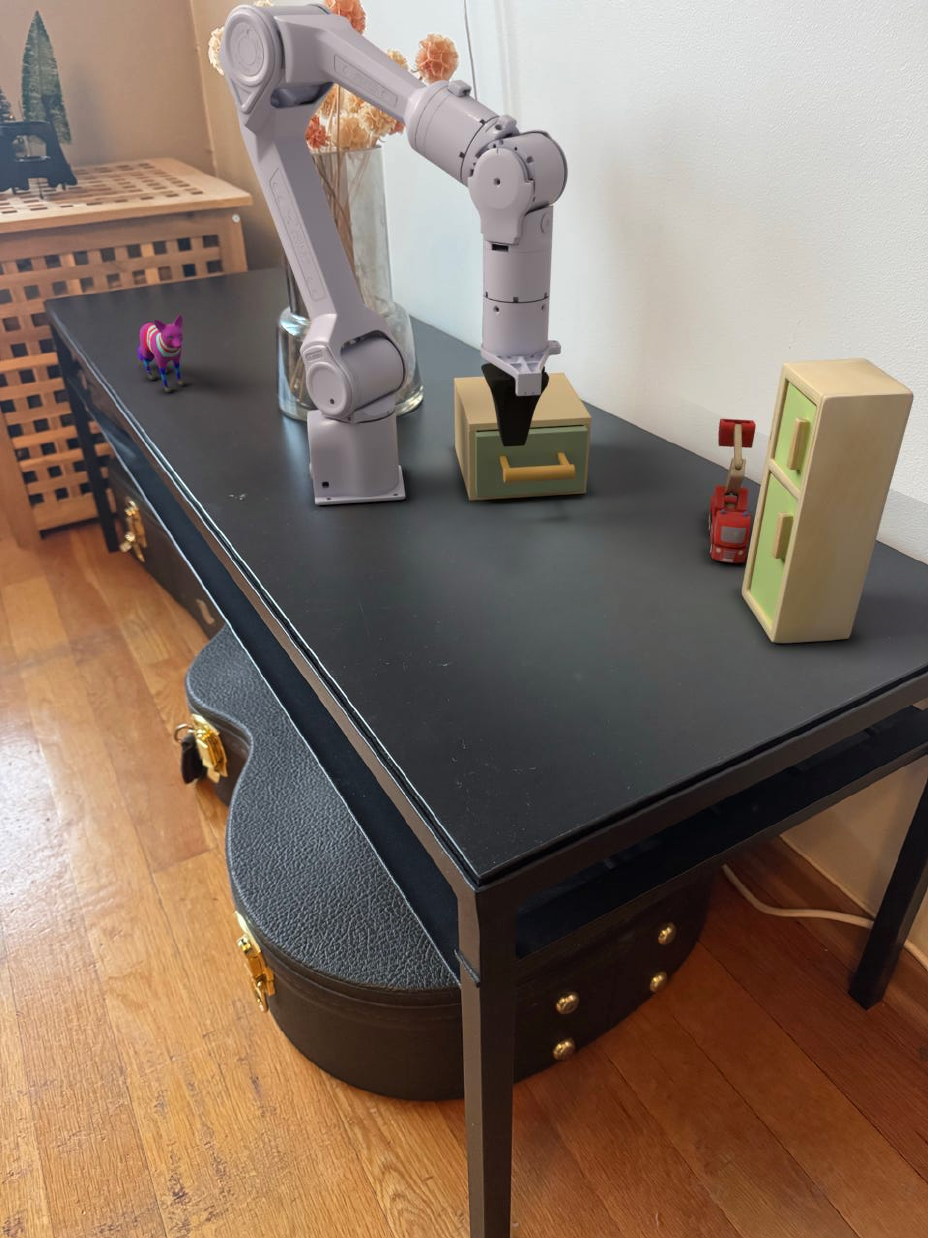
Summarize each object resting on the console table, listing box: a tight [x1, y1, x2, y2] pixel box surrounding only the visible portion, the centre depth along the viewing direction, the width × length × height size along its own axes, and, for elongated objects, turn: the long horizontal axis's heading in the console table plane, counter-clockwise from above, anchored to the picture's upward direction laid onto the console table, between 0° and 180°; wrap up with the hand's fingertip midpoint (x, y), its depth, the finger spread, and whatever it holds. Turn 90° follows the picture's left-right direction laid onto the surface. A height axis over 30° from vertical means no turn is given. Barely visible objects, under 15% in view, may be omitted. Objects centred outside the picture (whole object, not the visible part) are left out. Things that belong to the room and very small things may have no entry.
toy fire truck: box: [707, 418, 757, 564], centre depth 87 cm, size 3×14×10 cm, turn 168°
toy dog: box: [137, 314, 186, 394], centre depth 124 cm, size 4×18×10 cm, turn 36°
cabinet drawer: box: [475, 425, 588, 498], centre depth 96 cm, size 17×11×7 cm, turn 7°
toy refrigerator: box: [741, 357, 915, 644], centre depth 71 cm, size 8×7×21 cm
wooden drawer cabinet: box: [453, 372, 592, 501], centre depth 99 cm, size 14×13×9 cm
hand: (513, 443), depth 85 cm, fingers closed
